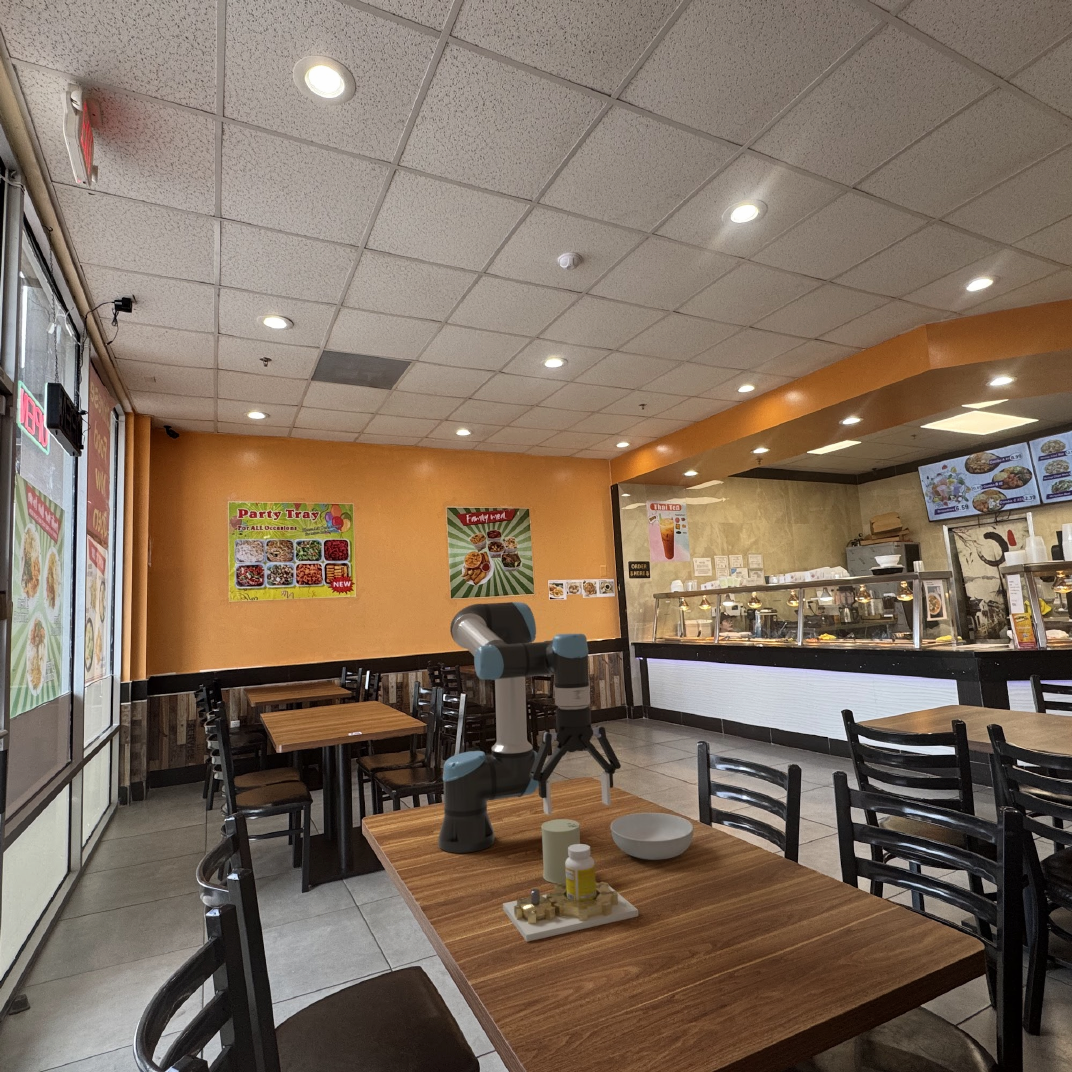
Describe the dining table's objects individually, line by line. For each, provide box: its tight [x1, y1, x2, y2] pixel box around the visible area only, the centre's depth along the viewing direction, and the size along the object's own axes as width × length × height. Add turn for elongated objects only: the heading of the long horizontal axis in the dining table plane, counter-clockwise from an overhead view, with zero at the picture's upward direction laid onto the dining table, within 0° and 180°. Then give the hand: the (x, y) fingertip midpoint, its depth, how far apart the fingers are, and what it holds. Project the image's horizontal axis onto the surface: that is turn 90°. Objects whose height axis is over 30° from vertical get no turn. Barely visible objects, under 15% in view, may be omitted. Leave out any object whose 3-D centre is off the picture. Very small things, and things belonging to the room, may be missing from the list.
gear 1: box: [514, 888, 557, 924], centre depth 135 cm, size 8×9×4 cm
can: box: [541, 818, 581, 885], centre depth 156 cm, size 9×9×12 cm
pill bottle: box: [565, 843, 597, 902], centre depth 139 cm, size 6×6×11 cm
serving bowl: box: [609, 812, 694, 861], centre depth 168 cm, size 21×21×7 cm
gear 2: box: [545, 881, 619, 921], centre depth 138 cm, size 14×14×2 cm
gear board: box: [502, 884, 639, 942], centre depth 137 cm, size 15×24×1 cm, turn 110°
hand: (577, 808), depth 140 cm, fingers open, 13 cm apart
